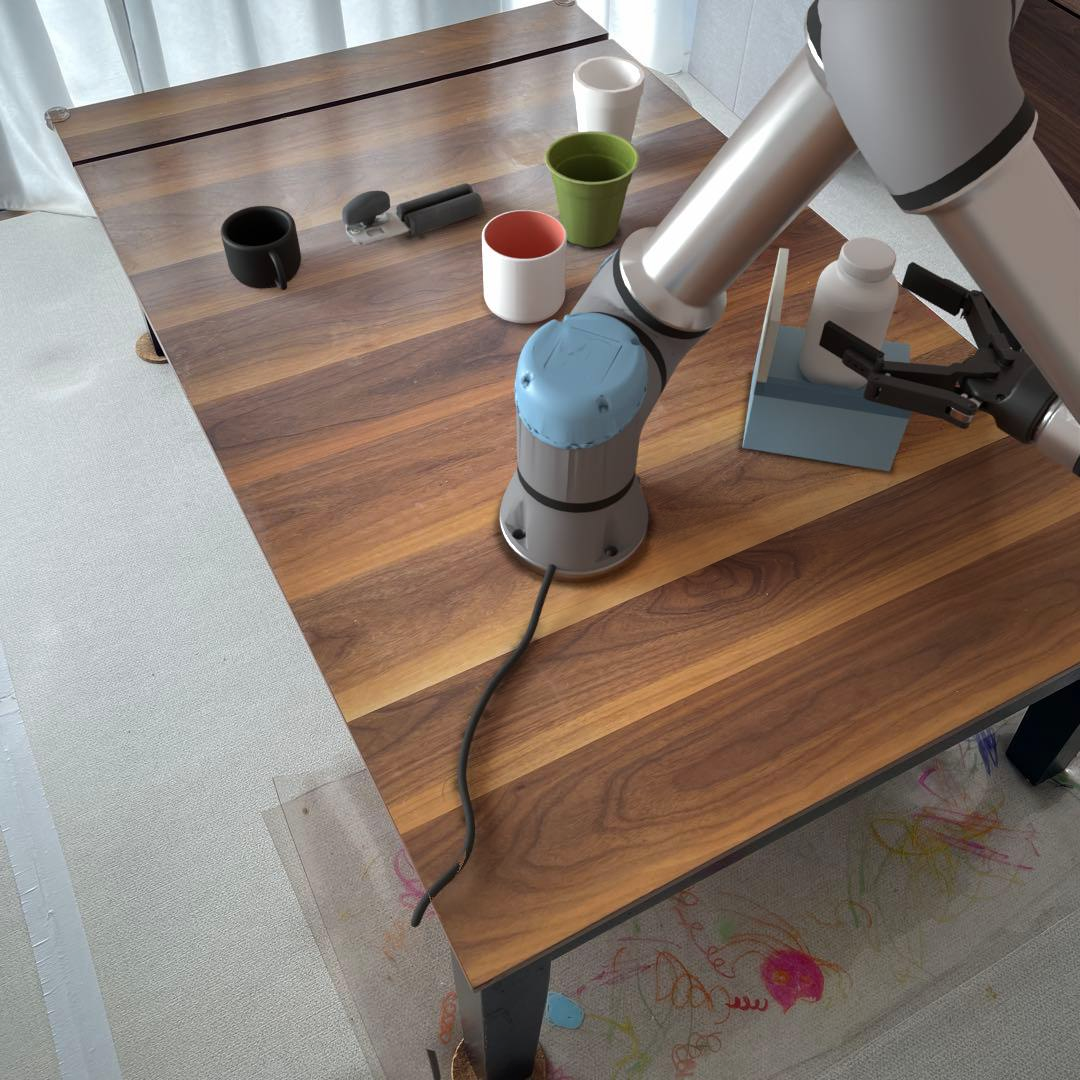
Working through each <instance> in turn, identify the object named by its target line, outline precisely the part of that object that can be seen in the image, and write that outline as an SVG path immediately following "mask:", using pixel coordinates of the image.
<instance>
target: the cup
mask: <svg viewBox="0 0 1080 1080" xmlns="http://www.w3.org/2000/svg"><path fill="white" fill-rule="evenodd" d="M481 245H482V246H481V250H482V252H481V253H482V274H483V275H482V279H483V298H484V301H485V304H486V306H487V307H488V309H489V310H490V311H491V312H492V313H493V314H494V315H495V316H497V317H498V318H500V319H501V320H505V321H507V322H511V323H515V324H534V323H539V322H543V321H545V320H548V319H549V318H551V317H552V316H554V315H555V314H557V312H558V311H559V310H561V307H562V306H563V304H564V302H565V298H566V279H567V277H566V276H567V249H568V248H567V247H568V240H567V232H566V229H565V228H564V226H563V225H562V223H561V220H558V219H557V218H556V217H554V216H552V215H550V214H548V213H545V212H542V211H538V210H532V209H517V210H511V211H507V212H503V213H500V214H498V215H496V216H495V217H493V218H492V219H490V220H489V221H488V222H487V223H486V224H485V226H484V227H483V228H482V232H481Z"/></svg>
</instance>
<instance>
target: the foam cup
mask: <svg viewBox="0 0 1080 1080" xmlns="http://www.w3.org/2000/svg"><path fill="white" fill-rule="evenodd" d="M645 77H646V76H645V73H644V69H643V68H642V67H641V66H640V65H638V64H637V63H635V62H634V61H632V60H630V59H626V58H623V57H619V56H606V55H604V56H603V55H602V56H597V57H591V58H587V59H586V60H584V61H582V62H580V63H578V64H577V65H576V67H575V69H574V70H573V77H572V79H573V80H572V91H573V95H574V97H575V98H574V99H575V107H576V118H577V128H578V132H588V131H597V132H605V133H610V134H614V135H617V136H620V137H622V138H624V139H626V140H627V141H629V142H630V143H631V144H632V139H633V134H634V130H635V126H636V121H637V117H638V111H639V107H640V103H641V99H642V96H643V94H644V90H645V79H646V78H645Z"/></svg>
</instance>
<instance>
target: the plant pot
mask: <svg viewBox="0 0 1080 1080" xmlns="http://www.w3.org/2000/svg"><path fill="white" fill-rule="evenodd" d="M544 163H545V165H546V167H547V169H548V170H549V172H550V176H551V177H550V178H551V180H552V182H553V185H554V191H555V197H556V201H557V208H558V214H559V219H560V220H559V221H560V222H561V223H562V225H563V226H564V228H565V229H566V232H567V242H569V243H570V244H573V245H580V246H581V247H585V248H598V247H603V246H605V245H608V244H609V243H611V242H612V241H613V240H614V238H615V237H616V236H617V234H618V229H619V225H620V220H621V217H622V212H623V208H624V204H625V200H626V195H627V192H628V188H629V185H630V183H631V180H632V178H633V173H634V172H635V171H636V170H637V168H638V167H639V164H640V154H639V151H638V148H637V147H635V145H634V144H633V143H632V142H631V143H630V142H629V141H627V140H626V139H624V138H622V137H620V136H617V135H614V134H610V133H605V132H597V131H588V132H579V131H578V132H572V133H569V134H567V135H563V136H562V137H559V138H557V139H556V140H554V141H553V142H552V143H551V144H550V145H548V147H547V148H546V150H545V153H544Z"/></svg>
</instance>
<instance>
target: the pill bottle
mask: <svg viewBox="0 0 1080 1080" xmlns="http://www.w3.org/2000/svg"><path fill="white" fill-rule="evenodd" d="M896 263H897V254H896V252H895V250H894V249H893V247H891V246H890V245H889V244H887V243H886V242H885V241H882V240H879V239H877V238H873V237H867V236H866V237H865V236H863V237H854V238H851V239H849V240H847V241H846V242H845V243H844V244H843V245H842V246H841V249H840V253H839V256H838V258H837V260H834V261H832V262H831V263H829V264H828V265H827V266H825V268H824V269H823V270H822V272H821V273H820V274H819V277H818V280H817V284H816V287H815V291H814V295H813V299H812V304H811V308H810V311H809V316H808V320H807V322H806V327H805V329H806V331H805V335H804V339H803V343H802V346H801V350H800V355H799V367H800V370H801V372H802V374H803V375H804V377H805V378H806V379H807V380H808V381H810V382H811V383H815V384H822V385H828V386H835V387H841V388H848V389H854V390H856V389H859V388H861V387H862V386H864V385H865V384H866V383H867V382H868V381H867V379H866V378H864V377H863V376H861V375H859V374H858V373H856V372H854V371H853V370H851V369H850V368H848V367H846V366H845V365H844V364H843V363H842V359H840V358H839V357H837V356H836V355H834V354H832V353H831V352H829V351H827V350H826V349H824V348H823V347H821V346H819V342H820V339H821V335H822V331H823V327H824V324H825V323H826V322H827V321H829V320H830V321H832V322H833V323H835V324H837V325H838V326H840V327H842V328H843V329H845V330H847V331H848V332H850V333H851V334H853V335H855V336H856V337H858V338H860V339H861V340H863V341H865V342H866V343H868V344H870V345H871V346H873V347H875V348H876V349H878V350H881V347H882V344H883V341H884V340H885V338H886V335H887V332H888V329H889V326H890V322H891V319H892V317H893V313H894V310H895V307H896V304H897V301H898V298H899V292H900V291H899V283H898V280H897V277H896V276H895V274H894V273H893V271H894V269H895V265H896Z"/></svg>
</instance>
